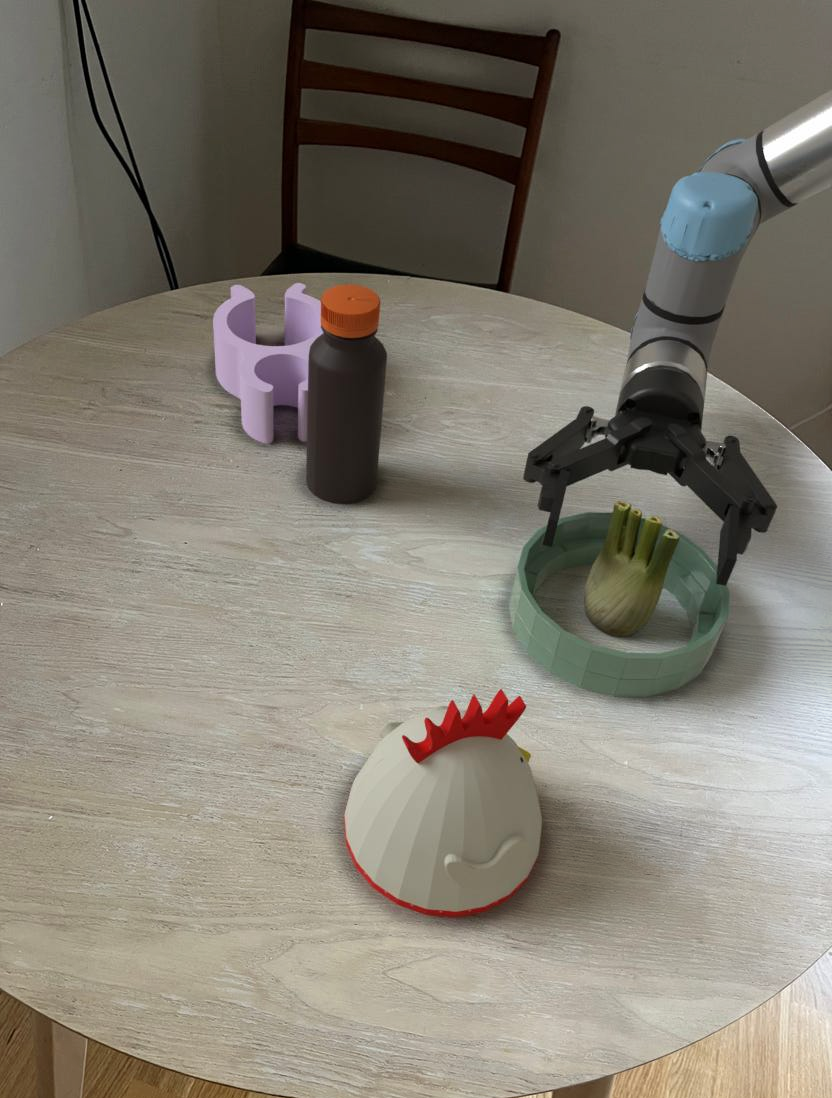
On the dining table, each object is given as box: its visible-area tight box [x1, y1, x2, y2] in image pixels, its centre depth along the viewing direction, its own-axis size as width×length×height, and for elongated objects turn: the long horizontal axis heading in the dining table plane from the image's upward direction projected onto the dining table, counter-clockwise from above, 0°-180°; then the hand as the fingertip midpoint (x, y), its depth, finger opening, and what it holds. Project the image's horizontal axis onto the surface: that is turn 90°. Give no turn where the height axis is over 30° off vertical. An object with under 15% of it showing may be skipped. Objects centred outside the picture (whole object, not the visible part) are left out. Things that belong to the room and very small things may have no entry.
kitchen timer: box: [343, 688, 543, 918], centre depth 72 cm, size 14×14×15 cm
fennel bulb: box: [583, 500, 680, 637], centre depth 88 cm, size 6×5×12 cm
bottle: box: [305, 284, 388, 505], centre depth 96 cm, size 7×7×20 cm
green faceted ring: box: [508, 511, 731, 698], centre depth 90 cm, size 17×17×6 cm
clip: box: [212, 282, 323, 445], centre depth 111 cm, size 20×12×7 cm, turn 8°
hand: (637, 552), depth 83 cm, fingers open, 13 cm apart
